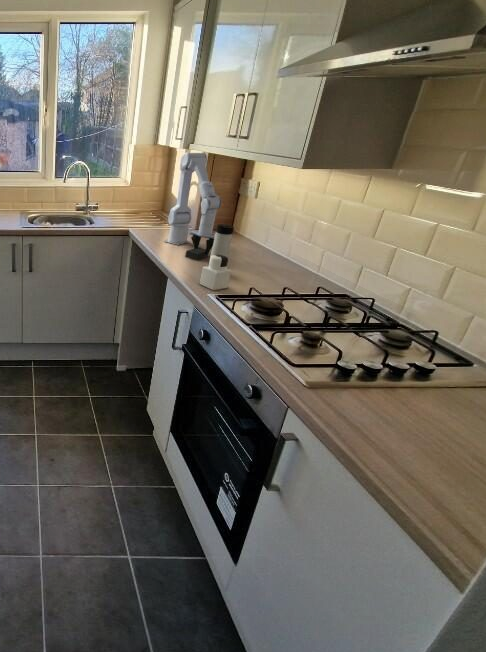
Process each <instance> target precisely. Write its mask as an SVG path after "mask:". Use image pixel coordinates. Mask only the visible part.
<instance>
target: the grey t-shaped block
mask: <svg viewBox="0 0 486 652" xmlns="http://www.w3.org/2000/svg"><path fill="white" fill-rule="evenodd" d="M205 250H206V248H203V247H198V248H196V251H197V252H199V251H204V252H205ZM208 256H209V254H207V255H206V254H205V255H204V258H206V257H208Z"/></svg>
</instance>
